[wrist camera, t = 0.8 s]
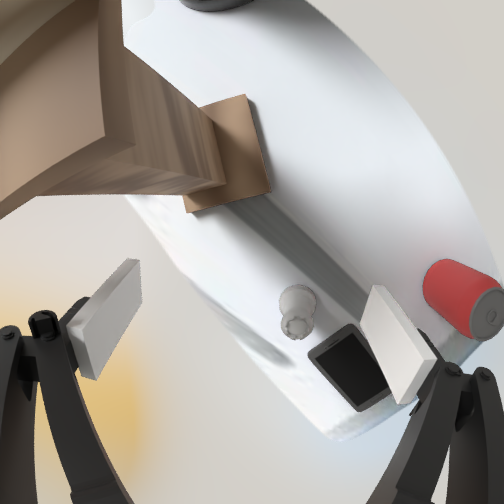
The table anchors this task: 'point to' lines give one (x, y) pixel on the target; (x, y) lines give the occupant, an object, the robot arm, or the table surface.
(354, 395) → the cell phone
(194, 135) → the shelf stand
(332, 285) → the table surface
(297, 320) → the rook chess piece
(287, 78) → the table surface
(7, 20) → the ash bar
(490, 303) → the beer can
